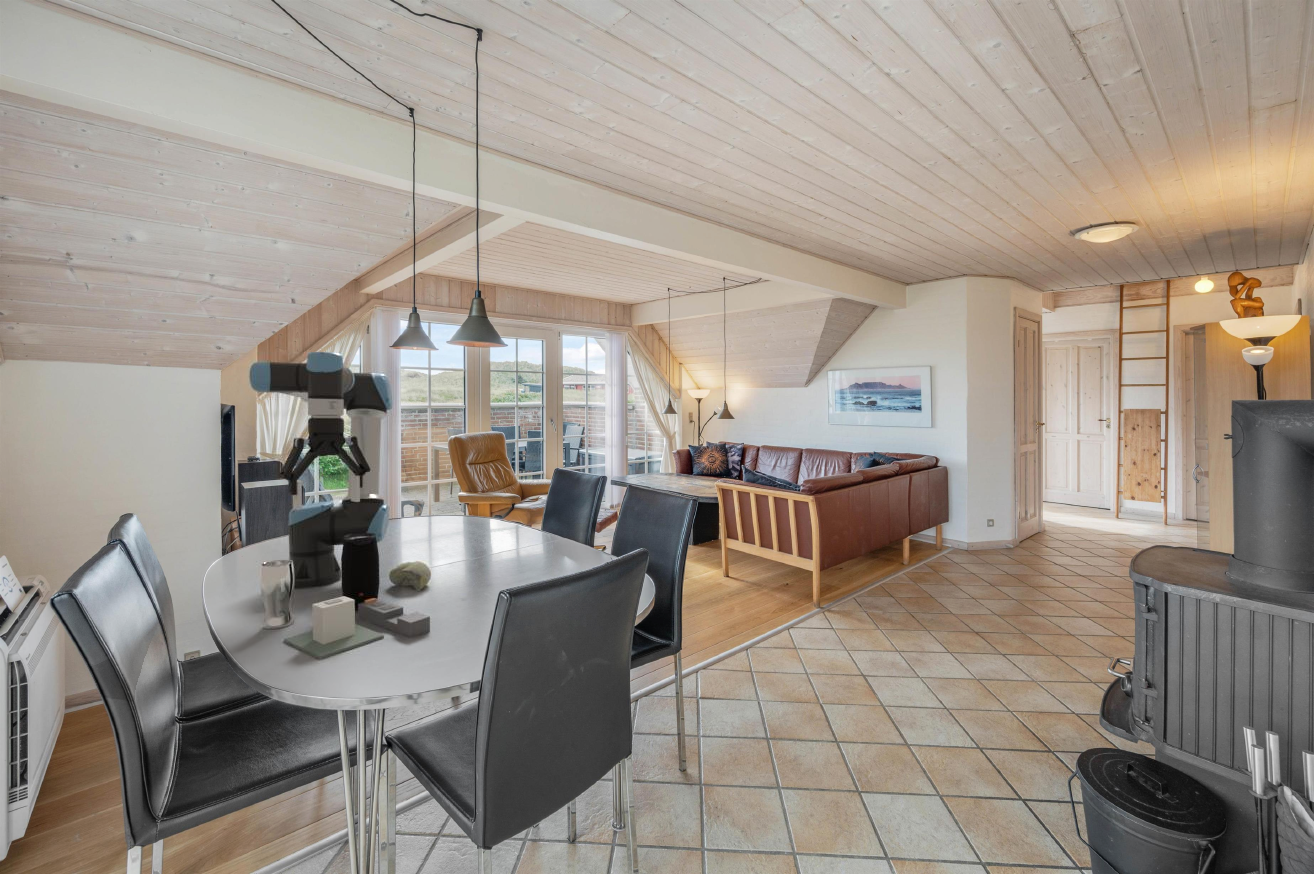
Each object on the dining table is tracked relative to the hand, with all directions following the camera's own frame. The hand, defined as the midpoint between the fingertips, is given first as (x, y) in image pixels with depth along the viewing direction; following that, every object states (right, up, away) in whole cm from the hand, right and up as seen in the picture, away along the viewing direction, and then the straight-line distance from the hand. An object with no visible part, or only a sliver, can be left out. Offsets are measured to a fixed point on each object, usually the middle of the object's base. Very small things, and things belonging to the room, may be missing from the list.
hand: (327, 505), depth 140 cm
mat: (+7, -29, -9) cm, 32 cm away
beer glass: (-11, -29, -1) cm, 31 cm away
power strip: (+16, -29, 0) cm, 33 cm away
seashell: (+8, -28, +30) cm, 42 cm away
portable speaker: (+2, -28, +12) cm, 31 cm away
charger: (+7, -29, -9) cm, 31 cm away
